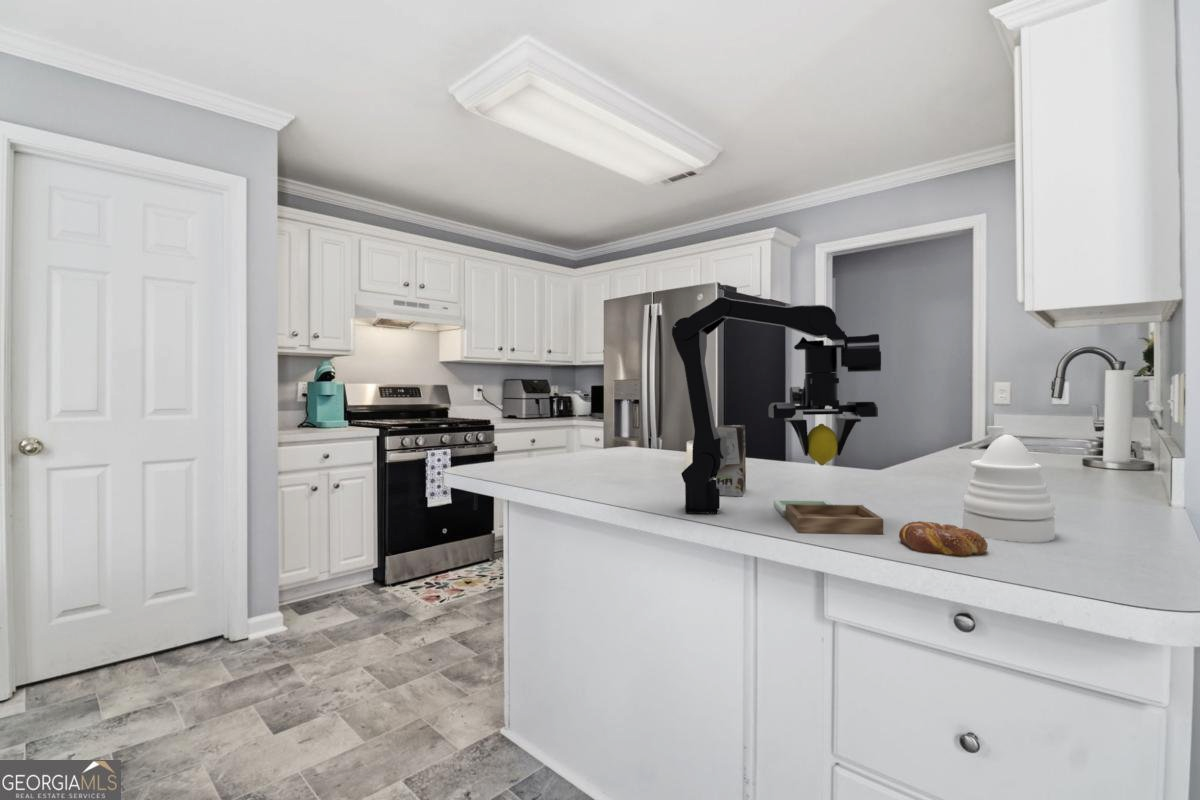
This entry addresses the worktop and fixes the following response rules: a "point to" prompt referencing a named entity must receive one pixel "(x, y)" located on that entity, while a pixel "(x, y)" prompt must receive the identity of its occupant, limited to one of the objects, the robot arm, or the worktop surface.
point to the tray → (833, 519)
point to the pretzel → (942, 539)
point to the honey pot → (1008, 494)
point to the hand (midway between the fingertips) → (822, 455)
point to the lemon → (822, 444)
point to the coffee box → (733, 462)
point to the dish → (781, 504)
